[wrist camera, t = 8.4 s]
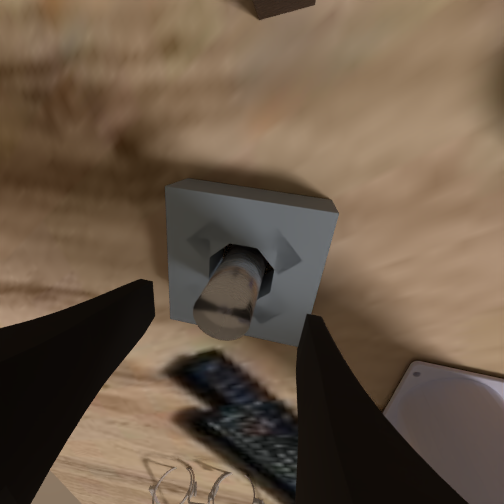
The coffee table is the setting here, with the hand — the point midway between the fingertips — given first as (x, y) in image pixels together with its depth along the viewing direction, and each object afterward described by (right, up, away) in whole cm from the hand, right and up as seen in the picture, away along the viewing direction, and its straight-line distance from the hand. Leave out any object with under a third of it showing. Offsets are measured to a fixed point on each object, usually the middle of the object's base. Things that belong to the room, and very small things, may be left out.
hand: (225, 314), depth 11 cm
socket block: (+1, +3, +6) cm, 7 cm away
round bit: (+1, +3, +6) cm, 7 cm away
